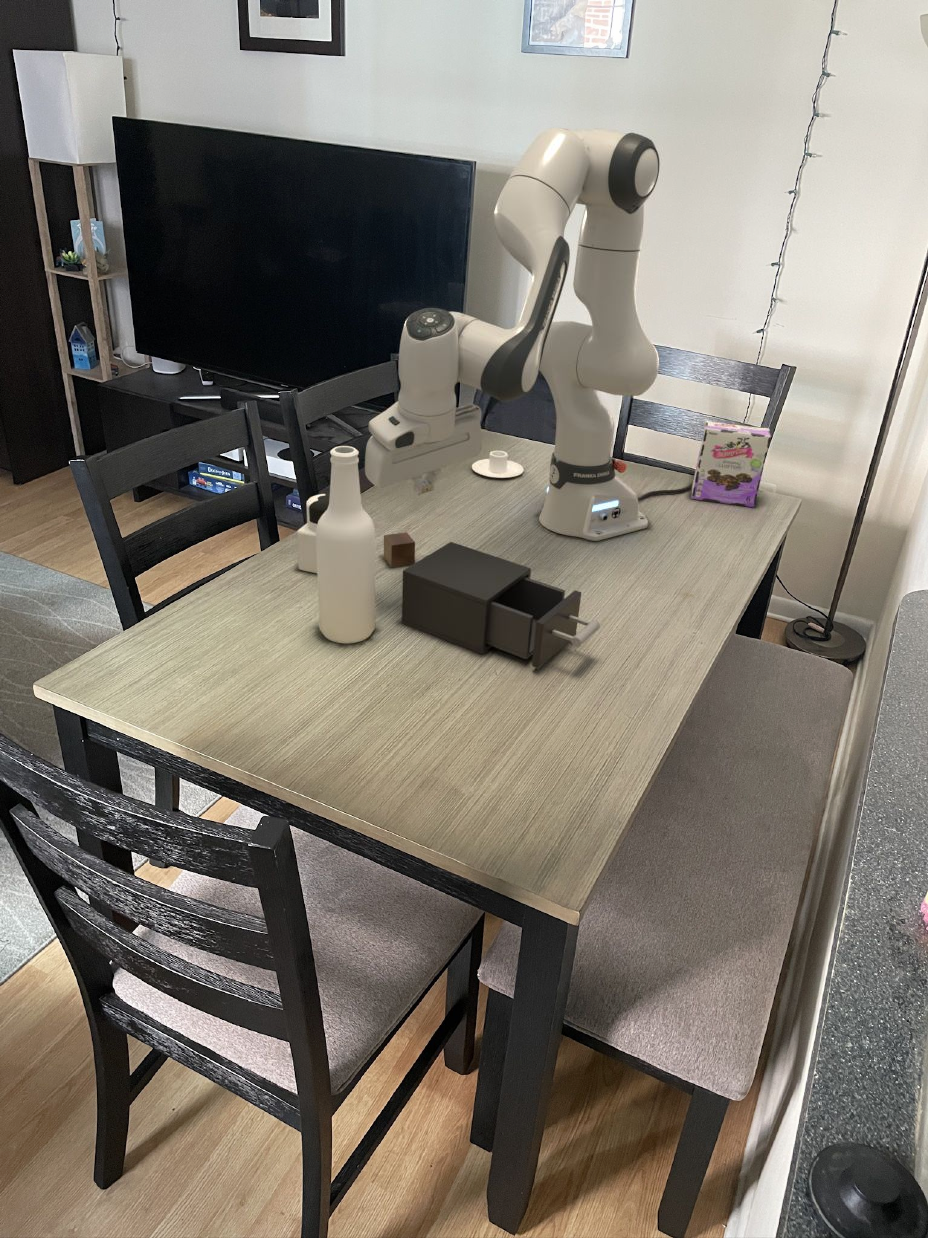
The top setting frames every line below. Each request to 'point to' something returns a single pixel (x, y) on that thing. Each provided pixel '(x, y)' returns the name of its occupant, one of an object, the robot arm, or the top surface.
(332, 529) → the alcohol
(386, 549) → the block
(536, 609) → the pull-out drawer
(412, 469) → the robot arm
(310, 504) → the container
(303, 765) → the top surface
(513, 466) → the candle holder
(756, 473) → the candy box
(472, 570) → the small drawer cabinet
